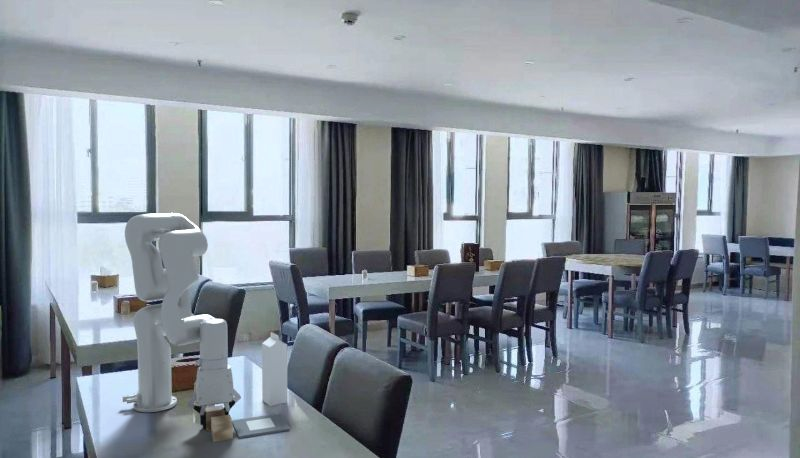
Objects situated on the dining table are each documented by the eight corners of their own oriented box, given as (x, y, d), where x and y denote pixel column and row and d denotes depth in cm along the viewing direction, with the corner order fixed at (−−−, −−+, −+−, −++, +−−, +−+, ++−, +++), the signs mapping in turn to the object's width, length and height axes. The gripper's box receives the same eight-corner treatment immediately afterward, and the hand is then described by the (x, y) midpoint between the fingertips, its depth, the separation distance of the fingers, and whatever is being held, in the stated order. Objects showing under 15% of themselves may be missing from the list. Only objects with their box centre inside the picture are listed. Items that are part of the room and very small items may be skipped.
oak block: (213, 442, 157) (213, 423, 157) (211, 435, 161) (211, 417, 161) (232, 439, 159) (232, 421, 159) (230, 432, 164) (229, 414, 163)
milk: (270, 406, 183) (269, 337, 181) (262, 401, 188) (261, 333, 186) (287, 402, 187) (287, 334, 185) (279, 397, 191) (279, 330, 190)
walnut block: (206, 431, 164) (206, 413, 163) (204, 424, 168) (204, 407, 168) (224, 428, 166) (224, 411, 165) (222, 422, 170) (222, 405, 170)
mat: (238, 438, 159) (238, 436, 159) (232, 422, 170) (232, 420, 170) (289, 430, 165) (289, 428, 165) (280, 415, 176) (280, 413, 176)
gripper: (183, 370, 159) (184, 435, 160) (246, 363, 166) (247, 425, 167) (181, 362, 166) (182, 425, 167) (242, 356, 173) (243, 416, 174)
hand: (214, 424), depth 167 cm, fingers closed on walnut block, 5 cm apart
